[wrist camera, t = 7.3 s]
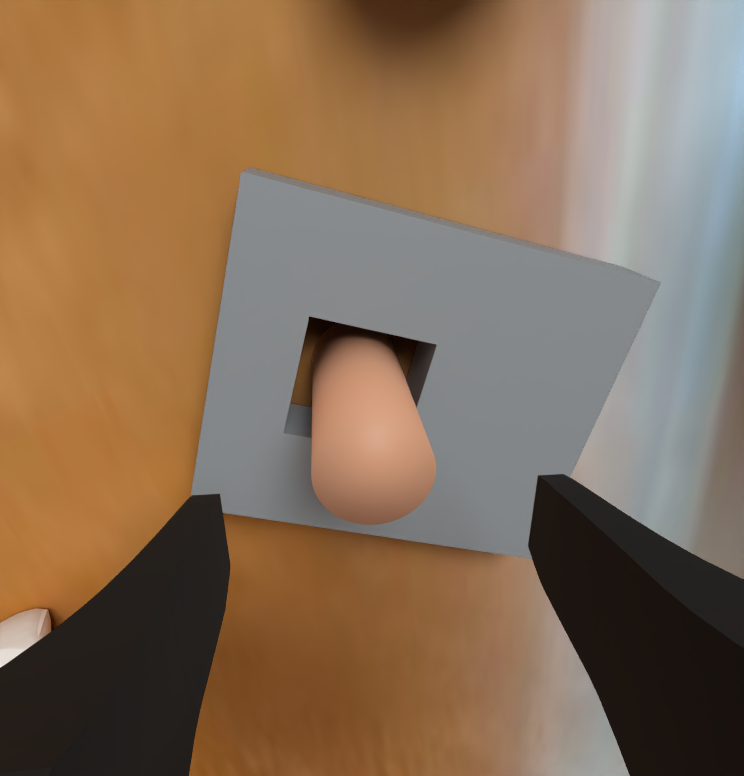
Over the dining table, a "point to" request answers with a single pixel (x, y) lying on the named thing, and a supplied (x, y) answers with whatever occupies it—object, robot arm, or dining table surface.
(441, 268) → the socket board
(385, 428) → the peg
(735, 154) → the dining table surface
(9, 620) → the water bottle
